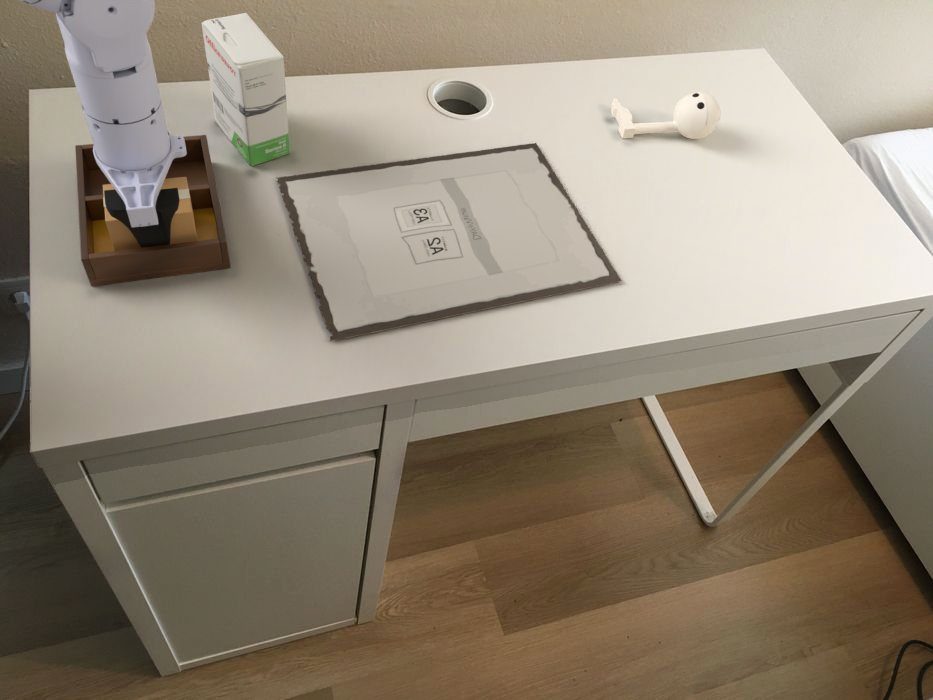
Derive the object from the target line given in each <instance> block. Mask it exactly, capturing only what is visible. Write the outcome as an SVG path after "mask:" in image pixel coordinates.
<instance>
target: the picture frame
mask: <svg viewBox="0 0 933 700" xmlns="http://www.w3.org/2000/svg"><path fill="white" fill-rule="evenodd" d="M276 179H277V180H276V183H277V184H278V185H280V186H279V187H278V188H279V190H280V191H279V192H280V193H281V194H282V196H281V198H282V201H283V202H284V204H285V206H284V207H285V208H286V209H287V211H288V212H289V215H288V217H289V219H290V220H291V221H292V223H291V226H292V227H293V228H292V230H293V233H294V236H295V237H296V238H297V239H296V242H298V244H299V247H300V250H301V254H302V255H304V257H303V262H305V263H306V264H307V266H308V270H309V271H308V274H307V275H308V276H309V277H310V278H311V280H312V285H313V287H314V289H315V291H314V295H315V296H316V297H319V300H318V303H319V307H318V308H319V311H320V312H321V315H322V317H323V319H324V324H325V326H326V327H325V329H326V330H328V331H331V335H330V336H329V342H335V341H340V340H343V339H344V340H345V339H349V338H354V337H358V336H363V335H368V334H372V333H378V332H382V331H387V330H391V329H392V330H393V329H397V328H401V327H406V326H407V327H408V326H412V325H416V324H421V323H426V322H431V321H436V320H441V319H445V318H449V317H450V318H451V317H454V316H459V315H460V316H461V315H464V314H465V315H466V314H470V313H474V312H479V311H480V312H481V311H484V310H489V309H494V308H499V307H503V306H508V305H513V304H518V303H522V302H528V301H532V300H537V299H543V298H547V297H552V296H556V295H561V294H566V293H571V292H576V291H581V290H585V289H586V290H587V289H590V288H595V287H600V286H605V285H610V284H616V283H620V282H623V281H622V279H621V277H620V275H619V274H618V272H617V271H616V269H614V267H613V265H612V263H611V262H610V260H609V258H608V257H607V255H606V253H605V252H604V249H603V248H602V246H601V245H600V243H599V242H598V240H597V239H596V237H595V235H594V233H592V232H591V229H590V228H589V226H588V224H587V223H586V221H585V220H584V218H583V215H581V214H580V212H579V210H578V208H577V206H576V205H575V203H573V201H572V199H571V197H570V196H569V194H568V193H567V191H566V189H565V188H564V185H563V184H562V182H561V180H560V179H559V177H558V176H557V174H556V172H555V171H554V170H553V168H552V166H551V165H550V163H549V161H548V160H547V158H546V155H544V154H543V152H542V150H541V148H540V146H539V145H538V144H537V142H535V143H534V142H533V143H525V144H517V145H511V146H501V147H497V148H495V147H494V148H488V149H487V148H486V149H480V150H474V151H466V152H457V153H451V154H442V155H435V156H428V157H419V158H415V159H413V158H411V159H405V160H397V161H389V162H383V163H375V164H369V165H359V166H353V167H345V168H338V169H332V170H331V169H330V170H324V171H323V170H322V171H316V172H308V173H302V174H301V173H300V174H293V175H287V176H286V175H285V176H279V177H276Z"/></svg>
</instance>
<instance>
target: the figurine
mask: <svg viewBox="0 0 933 700" xmlns="http://www.w3.org/2000/svg"><path fill="white" fill-rule="evenodd" d="M610 113H611V118H613V119H615V121H616V123H617V124H618V128H617V131H618V133H619V135H620V138H621V139H633V138H634V135H644V134H657V133H667V132H669V133H670V132H678V133H679V134H680V135H682V136H683V137H684V138H687V139H691V140H699V139H703V138H706V137H708V136H709V135H711V134H712V133H713V132H714V131H715V130H716V128H717V127H718V125H719V123H720V120H721V106H720V104H719V102H718V101H717V99H716V98H715V96H713V95H711V94H710V93H708V92H703V91H694V92H691V93H689V94H686V95H685V96H683V97H681V99H679V101H678V102H677V104H676V105H675V107H674V110H673V115H672V121H656V122H655V121H654V122H652V121H651V122H637V123H634V122H633V117H634V116H633V114H632V113H631V111H630V109H629V108H626V107H624V106H622V104H621V102H620V101H619V100H618V99H617V97H613V99H612V103H611V107H610Z"/></svg>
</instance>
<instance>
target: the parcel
mask: <svg viewBox="0 0 933 700" xmlns="http://www.w3.org/2000/svg"><path fill="white" fill-rule="evenodd" d="M169 188H178V193H179V199H180V201H179V207H178V210H177V211H176V212H175V214H174V216H173V218H172V222H171V237H170V244H176V243H185V242H193V241H198V237H197V231H196V225H195V219H194V214H193V208H192V203H191V198H190V193H189V188H188V183H187V178H186V177H178V178H168V179H165V180H164V182H163V185H162V187H161V189H169ZM105 190H114V187H113V186H112V184H105V185H103V196H104V191H105ZM103 202H104V209H105V221H106V225H107V228H108V231H109V234H110V237H111V240H112V243H113V246H114V249H115V251H118V250H126V249H135V248H142V247H141V246H140V245H139V243H138V242H137V240H136V239H135V237H134V236H133V234H132V233H131V231H130V230H129V229H128V228H127V227H126V226H125V225H124V224H123V223H122V222H120V221H119V220H117V219H115V218H114V217H112V216H111V215H110V214H109V212H108V211H107V208H106V205H105V196H104V197H103Z"/></svg>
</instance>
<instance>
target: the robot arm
mask: <svg viewBox="0 0 933 700" xmlns="http://www.w3.org/2000/svg"><path fill="white" fill-rule="evenodd" d="M18 1H20V2H22V3H24V4H27V5H29V6H30V7H33V8H34V9H35V8H36V9H39V10H43V11H48V12H52V13H55V17H56V20H57V23H58V24H57V25H58V26H59V30H60V34H61V36H62V39H63V43H64V52H65V56H66V59H67V63H68V66H69V70H70V72H71V73H70V74H71V76H72V79H73V83H74V87H75V89H76V92H77V95H78V99H79V102H80V105H81V109H82V113H83V115H84V119H85V121H86V124H87V128H88V131H89V135H90V138H91V142H92V144H94V146H93V153H94V157H95V160H96V163H97V164H98V166H99V167H100V169H101V170H102V172H103V173H104V174H105V176H106V177H107V179H108V180H109V182H110V183H111V184H112V186H113V187H114V190H105V191H104V196H105V205H106V208H107V211H108V212H109V214H110V215H111V216H112V217H114V218H115V219H117V220H119V221H120V222H122V223H123V224H124V225H125V226H126V227H127V228H128V229H129V230H130V231H131V233H132V234H133V236H134V237H135V239H136V240H137V242H138V243H139V245H140V246H141V247H142V248H143V247H151V246H160V245H168V244H170V237H171V222H172V218H173V216H174V214H175V212H176V211H177V210H178V207H179V201H180V199H179V193H178V188H169V189H161V187H162V185H163V182H164V180H165V177H166V175H167V173H168V170H169V168H170V165H171V163H172V160H173V159H175V158H179V157H184V156H185V155H186V154H187V151H186V145H185V140H184V138H183V137H184V136H182V135H178V134H177V135H170V132H169V130H168V127H167V126H168V125H167V122H166V117H165V113H164V112H165V111H164V105H163V102H162V97H161V93H160V87H159V83H158V78H157V73H156V69H155V63H154V59H153V53H152V48H151V45H150V43H149V39H148V34H147V33H148V31H149V29H150V28H151V26H152V24H153V21H154V18H155V13H156V3H155V2H156V1H155V0H18Z"/></svg>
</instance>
